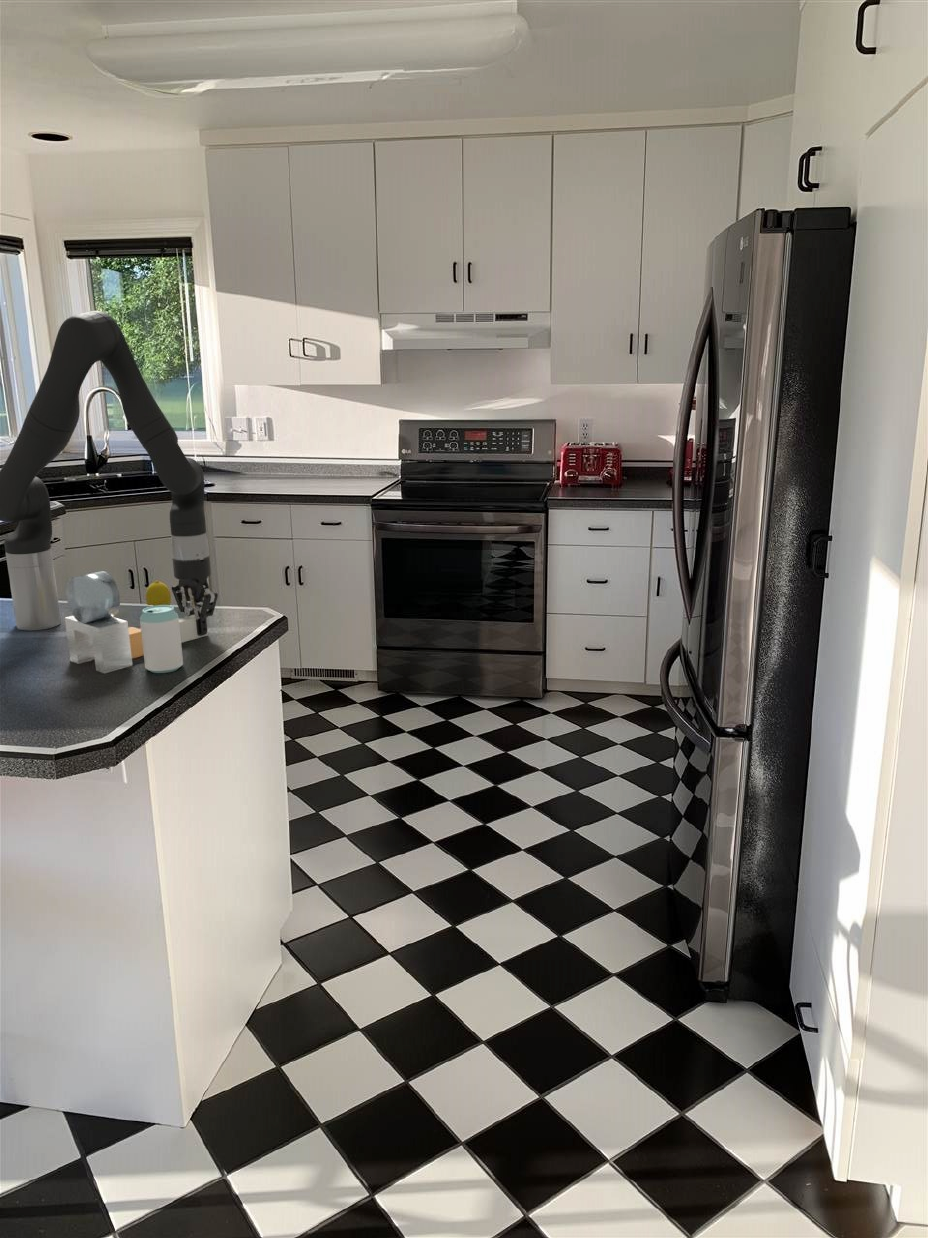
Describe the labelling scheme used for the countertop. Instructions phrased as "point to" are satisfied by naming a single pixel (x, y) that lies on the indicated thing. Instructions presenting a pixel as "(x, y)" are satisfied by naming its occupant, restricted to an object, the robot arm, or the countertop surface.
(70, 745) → the countertop surface
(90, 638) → the cylinder
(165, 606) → the can
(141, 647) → the plug
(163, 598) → the lemon
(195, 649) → the countertop surface
